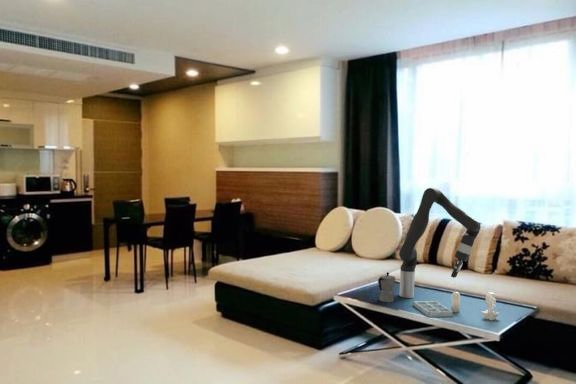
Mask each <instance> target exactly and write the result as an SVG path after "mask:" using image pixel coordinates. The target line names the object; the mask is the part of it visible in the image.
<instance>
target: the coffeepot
mask: <svg viewBox="0 0 576 384" xmlns="http://www.w3.org/2000/svg"><path fill="white" fill-rule="evenodd" d="M395 281H396V276H393V275H390V272H388V271H387V272H386V274H385V275H384V274H383V275H381V276H379V278H378V281H377V283H378V288H379V291H380V295H379V301H380V302H383V303H393V302H395V297H394V291H393V288H394V285H395Z"/></svg>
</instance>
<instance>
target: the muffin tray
mask: <svg viewBox="0 0 576 384" xmlns="http://www.w3.org/2000/svg"><path fill="white" fill-rule="evenodd" d="M412 306H413V307H414V306H415V308H416V309H417V310H419V311H420V312H422V313H423V314H424V315H425V316H427V317H428V318H429V317H431V318H433V317H453V316H454V312H453V311H451V309H449V308H447V307H446V306H445V305H443V304H442V303H440V302H439V301H437V300H436V301H435V300H433V301H431V300H429V301H427V300H425V301H424V300H423V301H422V300H419V301H416V300H415V301H414V300H413V304H412Z"/></svg>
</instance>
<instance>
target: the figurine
mask: <svg viewBox="0 0 576 384" xmlns="http://www.w3.org/2000/svg"><path fill="white" fill-rule="evenodd" d="M485 304H486V305H487V309H485V310H483V311H480V313H481V314H482V316H483V318H485V320H488V319H489V320H488V321H493V320H496V319H497V317H498V315H500V312H498V311H494V308H496V306H497V300H496V298H495V293H494V292H490V291H488V294H485Z"/></svg>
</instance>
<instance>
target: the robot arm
mask: <svg viewBox="0 0 576 384" xmlns="http://www.w3.org/2000/svg"><path fill="white" fill-rule="evenodd" d="M434 203H435V204H437V205H438V206H440V207H442V208H443V209H444V210H445V211H446V213H447V214H448V215H449V216H450V217H451V218H452V219H453V220H455V221H457V222H458V223H459V224H461V226H462V227H464V228H465V229H466V231H465V234H463V235H462V237H461V240H460V242H459V244H458V246H457V248H456V251H455V253H454V258H456V259H457V260H455V261H454V265H453V268H452V272H451V275H450V277H451V278H457V276H458V273H459V272H460V271H461V269H462V266H463V264H464V263H463V261H464V262H467V261H468V259H469V257H470V254H471V251H472V248H473V245H474V243H475V240H476V239H477V237H478V235H479V233H480V231H481V224H480V223H479V221H477V220H475V219H473V218H472V217H471V216H470V215H468V213H466V212H465V211H464V210H462V209H461V208H460V207H458V205H456V204H454V203H453V202H452V201H451V200H450V199H449V198H447V196H446V195H445V194H444V193H443V192H442V191H441V190H440V189H439V188H437V187H429V188H427V189H425V190H424V192H423V193H422V197H421V200H420V204H419V207H418V209H417V211H416V214H415V216H414V218H413V221H412V222H411V225H410V228H409V230H408V232H407V236H406V238H405V240H404V242H403V244H402V245H401V247H400V249H399V252H398V254H399V255H398V256H399V258H400V259H401V261H402V264H401V265H400V275H399V297H401V298H407V299H411V298H414V297H415V296H414V295H415V279H416V278H415V275H416V273H415V272H416V267H417V262H418V261H417V260H418V259H417V258H418V253H417V252H418V251H417V249H416V248H415V247H416V245H417V243H418V242H419V240H420V239H421V237H423V235H424V234H425V232H426V230H427V228H428V226H429V221H430V213H431V212H430V211H431V209H432V206H433V205H434Z"/></svg>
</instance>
